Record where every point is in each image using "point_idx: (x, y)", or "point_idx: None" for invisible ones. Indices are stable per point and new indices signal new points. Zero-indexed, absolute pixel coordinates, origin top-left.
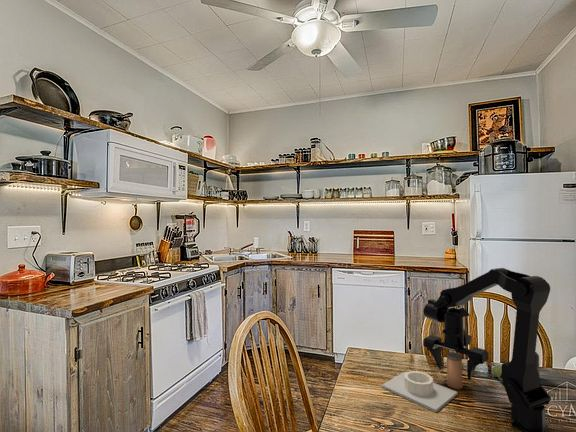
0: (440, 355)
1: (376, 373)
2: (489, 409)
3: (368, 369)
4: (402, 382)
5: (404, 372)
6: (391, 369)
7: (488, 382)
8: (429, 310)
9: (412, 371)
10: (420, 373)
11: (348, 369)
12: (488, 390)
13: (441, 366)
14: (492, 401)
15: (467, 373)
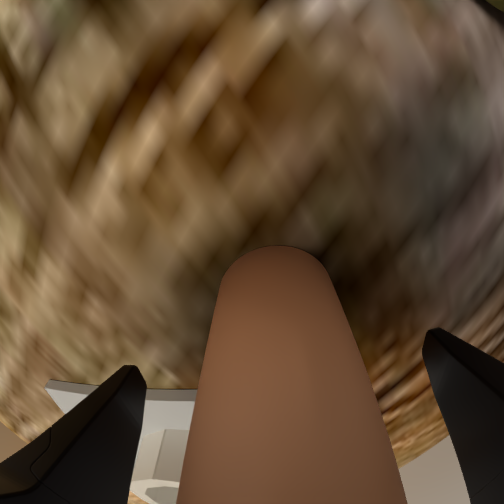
0: (73, 485)
1: (44, 426)
2: (486, 347)
3: (19, 416)
4: (136, 457)
5: (54, 397)
6: (14, 377)
7: (413, 18)
8: None
9: (133, 485)
10: (162, 484)
11: (23, 437)
12: (468, 157)
13: (130, 391)
14: (499, 275)
15: (446, 423)
